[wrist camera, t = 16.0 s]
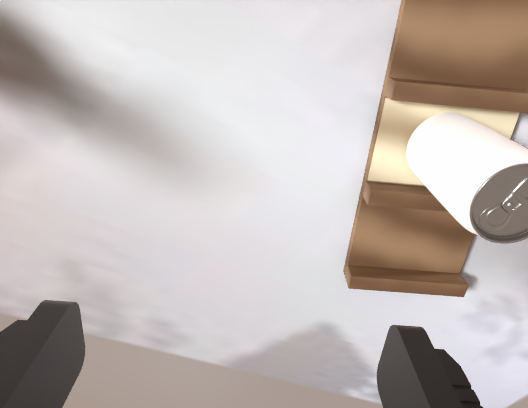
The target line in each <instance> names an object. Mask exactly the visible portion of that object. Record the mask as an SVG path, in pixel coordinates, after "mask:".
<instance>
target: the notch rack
mask: <svg viewBox="0 0 528 408" xmlns="http://www.w3.org/2000/svg"><path fill="white" fill-rule="evenodd" d="M445 112H454V113H459V114H462V115H465V116H467V117H469V118H471V119H473V120H475V121H477V122H479V123H481V124H482V125H484V126H486V127H488V128H490V129H492V130H494V131H496V132H497V133H499V134H501V135H503V136H505V137H507V138H509V139H510V138H511V135H512V133H513V130H514V127H515V125H516V122H517V119H518V116H519V114H520V112H523V113H528V0H402V2H401V6H400V11H399V15H398V20H397V25H396V29H395V34H394V39H393V43H392V48H391V53H390V57H389V62H388V67H387V71H386V76H385V80H384V85H383V90H382V94H381V99H380V104H379V108H378V113H377V118H376V122H375V127H374V132H373V136H372V141H371V145H370V150H369V155H368V159H367V164H366V169H365V173H364V178H363V183H362V187H361V192H360V197H359V201H358V206H357V210H356V215H355V220H354V224H353V229H352V234H351V238H350V243H349V248H348V252H347V257H346V262H345V266H344V274H345V278H346V281H347V285H348V288H350V289H363V290H377V291H390V292H404V293H417V294H430V295H444V296H457V297H464V295H465V293H466V290H467V288H468V284H467V283H466V281H465V280H464V279H463V277H462V276H461V274H460V272H461V269H462V266H463V264H464V261H465V258H466V255H467V253H468V250H469V247H470V245H471V242H472V239H473V237H474V233H472V232H470V231H468V230H467V229H465V228H464V227H463V226H462V225H461V224H460V223H459V222H458V221H457V220H456V219H455V218H454V217H453V216H452V215H451V214H450V213H449V212H448V211H447V210H446V208H445V207H444V206H443V205H442V204H441V203H440V202H439V201H438V200H437V199H436V197H435V196H434V195H433V194H432V193H431V192H430V191H429V190H428V189H427V187H426V186H425V185H424V184H423V183H422V182H421V181H420V180H419V179H418V177H417V176H416V175H415V174H414V173H413V172H412V170H411V169H410V167H409V165H408V162H407V157H406V150H407V145H408V141H409V139H410V137H411V135H412V133H413V132H414V131H415V129H416V128H417V127H418V126H419V125H420V124H421V123H422V122H424V121H425V120H426V119H428V118H430V117H432V116H434V115H437V114H440V113H445Z"/></svg>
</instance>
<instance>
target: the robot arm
mask: <svg viewBox="0 0 528 408" xmlns="http://www.w3.org/2000/svg"><path fill="white" fill-rule="evenodd" d="M84 356H85V342H84V335H83V329H82V322H81V315H80V309H79V305H78V304H77V303H76V302H66V301H52V300H44V301H43V302H41V303H40V304H39V306H38V307H37V308H36V310H35V311H34V312H33V314H32V315H31V316H30V318H29V319H28V320H17V321H15V322H14V323H13V324H11V325H10V326H8V327H7V328H6V329H4V330H3V331H1V332H0V408H62V407H63V405H64V403H65V401H66V399H67V397H68V395H69V393H70V391H71V389H72V387H73V385H74V383H75V381H76V379H77V377H78V375H79V373H80V371H81V368H82V365H83V362H84ZM377 385H378V391H379V395H380V398H381V402H382V405H383V408H483V407H482V406H480V401H479V399H478V397H477V396H476V394H475V392H474V390H472V389H471V385H470V383H469V381H468V379H467V377H466V375H465V374H464V372H463V370H462V368H461V366H460V365H459V364H458V363H457V362H456V361H455V360H454V359H453V358H452V357H451V356H450V355H449V354H448V353H447V352H446V351H445V350H444V349H434V347H433V345H432V343H431V341H430V339H429V337H428V335H427V333H426V331H425V330H424V329H423V328H422V327H415V326H400V325H392V326H391V327H390V328H389V331H388V334H387V337H386V341H385V344H384V348H383V351H382V354H381V358H380V361H379V364H378V369H377Z"/></svg>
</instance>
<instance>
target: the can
mask: <svg viewBox="0 0 528 408" xmlns="http://www.w3.org/2000/svg"><path fill="white" fill-rule="evenodd" d="M406 157H407V162H408V165H409V167H410V169H411V170H412V172H413V173H414V174H415V175H416V176H417V177H418V179H419V180H420V181H421V182H422V183H423V184H424V185H425V186H426V187H427V189H428V190H429V191H430V192H431V193H432V194H433V195H434V196H435V197H436V199H437V200H438V201H439V202H440V203H441V204H442V205H443V206H444V207H445V208H446V210H447V211H448V212H449V213H450V214H451V215H452V216H453V217H454V218H455V219H456V220H457V221H458V222H459V223H460V224H461V225H462V226H463V227H464V228H465V229H467V230H468V231H470V232H472V233H474V234H476V235H480V236H481V237H482V238H484V239H486V240H488V241H491V242H495V243H514V242H518V241H522V240H524V239H527V238H528V149H527V148H525V147H523V146H521V145H520V144H518V143H516V142H514V141H512V140H510V139H509V138H507V137H505V136H503V135H501V134H499V133H497V132H496V131H494V130H492V129H490V128H488V127H486V126H484V125H482V124H481V123H479V122H477V121H475V120H473V119H471V118H469V117H467V116H465V115H462V114H459V113H454V112H445V113H440V114H437V115H434V116H432V117H430V118H428V119H426V120H425V121H424V122H422V123H421V124H420V125H419V126H418V127H417V128H416V129H415V131H414V132H413V133H412V135H411V137H410V139H409V141H408V145H407V150H406Z"/></svg>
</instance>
